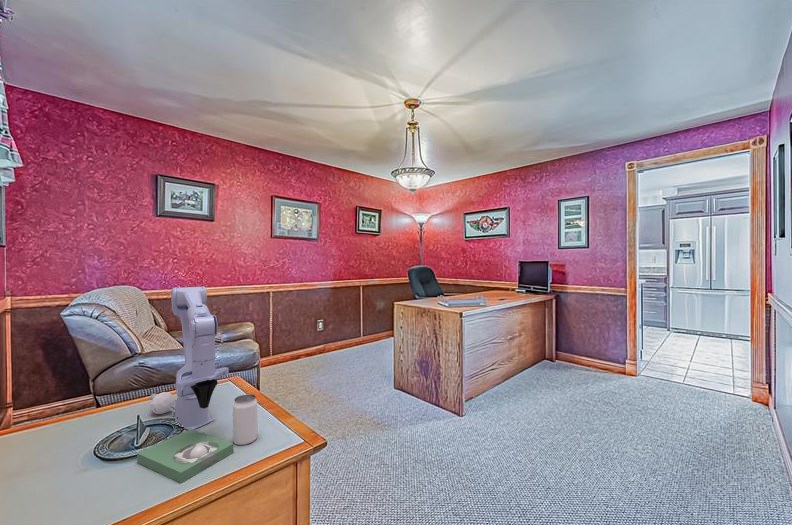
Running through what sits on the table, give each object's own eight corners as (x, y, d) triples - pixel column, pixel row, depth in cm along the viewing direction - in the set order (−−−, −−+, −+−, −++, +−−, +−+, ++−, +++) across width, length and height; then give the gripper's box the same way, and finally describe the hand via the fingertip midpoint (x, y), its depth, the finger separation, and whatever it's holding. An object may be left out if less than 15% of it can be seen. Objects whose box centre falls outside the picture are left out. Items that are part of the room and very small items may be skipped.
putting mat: (137, 462, 88) (137, 453, 88) (190, 437, 101) (190, 428, 101) (181, 483, 80) (181, 472, 80) (233, 452, 93) (233, 443, 93)
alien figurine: (184, 416, 118) (160, 400, 122) (189, 398, 117) (164, 382, 121) (163, 427, 111) (138, 409, 115) (168, 407, 110) (143, 390, 114)
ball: (198, 460, 85) (189, 469, 86) (213, 454, 89) (204, 462, 90) (192, 445, 87) (183, 454, 88) (207, 440, 90) (198, 448, 91)
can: (248, 447, 95) (248, 403, 95) (227, 444, 97) (227, 401, 96) (262, 435, 102) (261, 394, 101) (242, 433, 103) (242, 392, 103)
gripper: (187, 368, 89) (187, 420, 89) (235, 354, 102) (235, 400, 102) (170, 364, 92) (171, 415, 93) (219, 351, 105) (219, 396, 106)
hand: (204, 407), depth 98 cm, fingers closed
